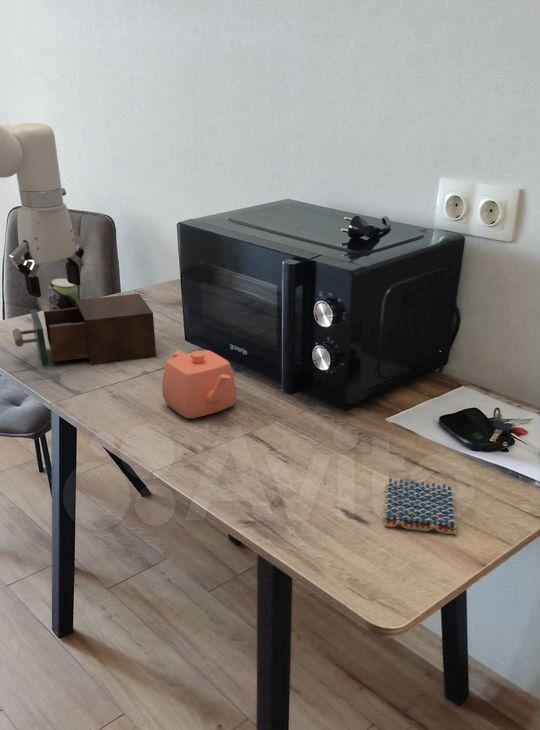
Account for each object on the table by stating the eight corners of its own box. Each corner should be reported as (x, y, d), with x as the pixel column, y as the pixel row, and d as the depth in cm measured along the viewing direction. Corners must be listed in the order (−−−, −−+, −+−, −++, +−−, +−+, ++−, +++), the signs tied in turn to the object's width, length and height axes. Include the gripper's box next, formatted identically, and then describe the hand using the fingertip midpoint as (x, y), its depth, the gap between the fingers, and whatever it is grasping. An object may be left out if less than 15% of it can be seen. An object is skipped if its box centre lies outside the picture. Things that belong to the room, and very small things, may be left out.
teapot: (202, 382, 137) (200, 332, 132) (256, 418, 125) (257, 364, 120) (150, 397, 131) (146, 345, 126) (202, 436, 120) (200, 380, 114)
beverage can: (51, 328, 160) (43, 276, 153) (84, 328, 161) (77, 275, 154) (47, 339, 155) (38, 285, 148) (81, 338, 155) (74, 284, 149)
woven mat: (381, 529, 99) (382, 517, 97) (383, 487, 107) (385, 476, 106) (457, 537, 97) (459, 526, 96) (453, 495, 106) (455, 484, 105)
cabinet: (91, 365, 143) (85, 320, 138) (81, 343, 153) (75, 300, 148) (156, 356, 148) (153, 312, 142) (142, 335, 157) (139, 293, 152)
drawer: (20, 369, 139) (13, 331, 135) (15, 348, 148) (8, 312, 144) (105, 358, 144) (101, 321, 140) (95, 338, 153) (91, 303, 149)
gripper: (65, 189, 138) (76, 276, 147) (-12, 202, 126) (6, 296, 135) (91, 194, 134) (101, 283, 143) (14, 209, 122) (30, 305, 131)
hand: (55, 289), depth 139 cm, fingers open, 9 cm apart
